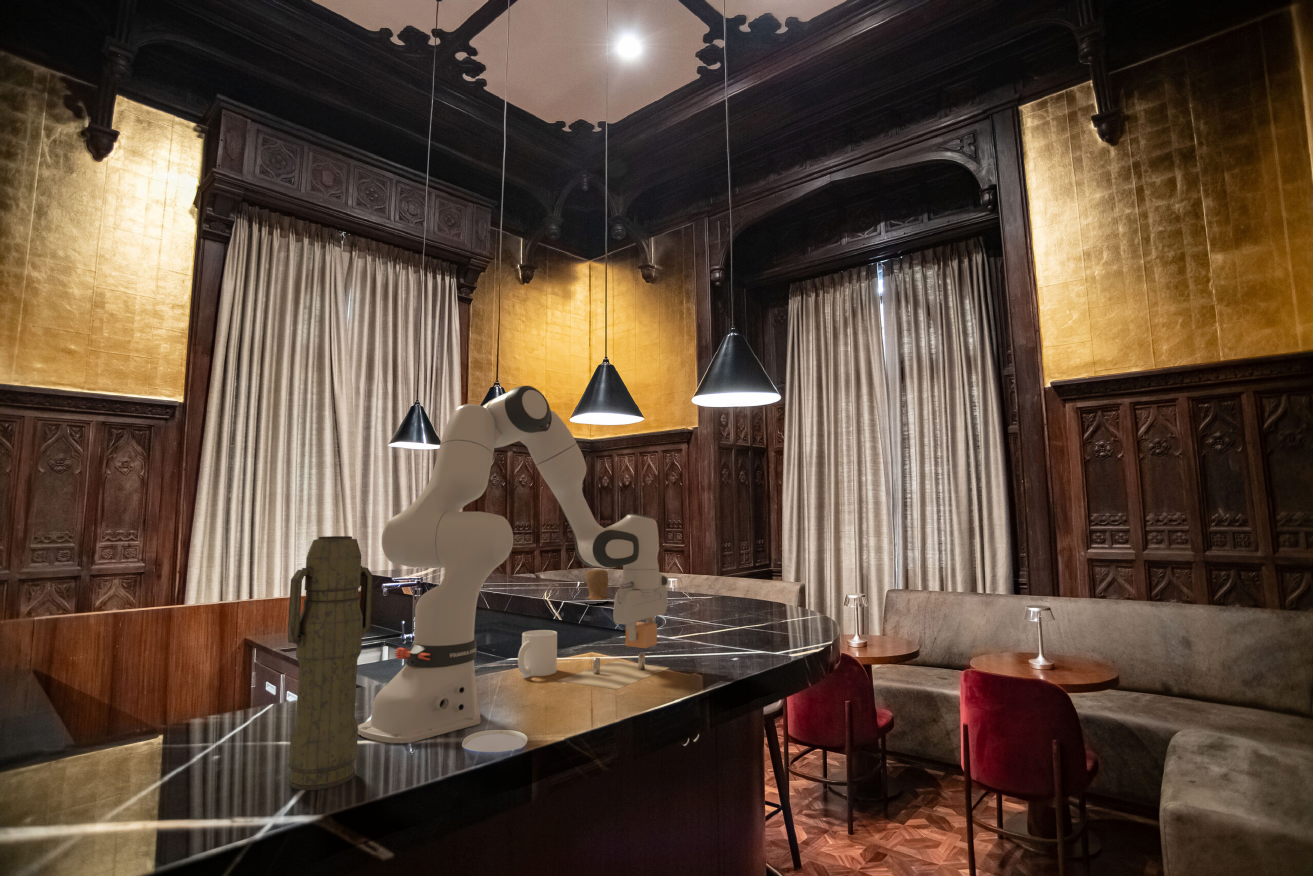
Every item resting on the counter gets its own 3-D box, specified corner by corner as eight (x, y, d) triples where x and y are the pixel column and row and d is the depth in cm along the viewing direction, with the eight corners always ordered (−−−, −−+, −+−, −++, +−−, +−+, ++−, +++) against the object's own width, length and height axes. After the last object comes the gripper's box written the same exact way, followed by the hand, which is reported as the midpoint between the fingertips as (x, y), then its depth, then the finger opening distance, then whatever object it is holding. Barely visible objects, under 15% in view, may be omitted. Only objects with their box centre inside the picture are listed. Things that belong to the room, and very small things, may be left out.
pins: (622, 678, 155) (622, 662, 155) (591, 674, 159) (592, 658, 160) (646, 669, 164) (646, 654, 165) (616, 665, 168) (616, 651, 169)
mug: (532, 686, 153) (533, 639, 154) (503, 682, 156) (504, 636, 158) (563, 675, 163) (564, 631, 164) (535, 671, 167) (536, 629, 168)
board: (616, 695, 145) (616, 689, 145) (556, 686, 153) (556, 680, 153) (669, 672, 166) (669, 667, 166) (614, 665, 173) (614, 661, 174)
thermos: (377, 771, 102) (388, 536, 106) (302, 799, 92) (317, 538, 96) (340, 760, 106) (352, 535, 110) (265, 786, 96) (280, 537, 100)
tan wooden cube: (645, 648, 161) (645, 626, 162) (625, 646, 164) (625, 624, 164) (656, 644, 166) (657, 623, 166) (637, 642, 169) (637, 621, 169)
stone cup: (596, 601, 307) (596, 567, 309) (617, 603, 301) (617, 568, 302) (574, 604, 295) (575, 569, 296) (596, 606, 288) (596, 571, 290)
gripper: (629, 585, 156) (629, 646, 154) (671, 577, 174) (671, 632, 172) (606, 583, 159) (606, 644, 158) (650, 576, 177) (650, 630, 175)
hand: (640, 638), depth 165 cm, fingers closed on tan wooden cube, 6 cm apart
